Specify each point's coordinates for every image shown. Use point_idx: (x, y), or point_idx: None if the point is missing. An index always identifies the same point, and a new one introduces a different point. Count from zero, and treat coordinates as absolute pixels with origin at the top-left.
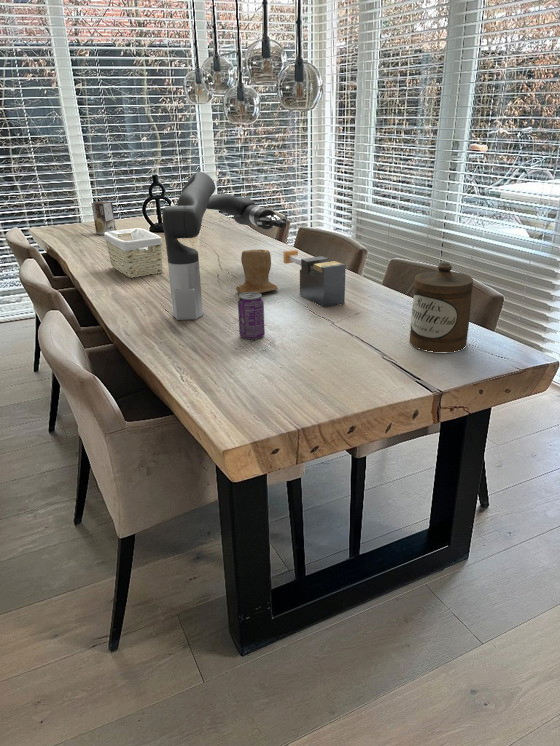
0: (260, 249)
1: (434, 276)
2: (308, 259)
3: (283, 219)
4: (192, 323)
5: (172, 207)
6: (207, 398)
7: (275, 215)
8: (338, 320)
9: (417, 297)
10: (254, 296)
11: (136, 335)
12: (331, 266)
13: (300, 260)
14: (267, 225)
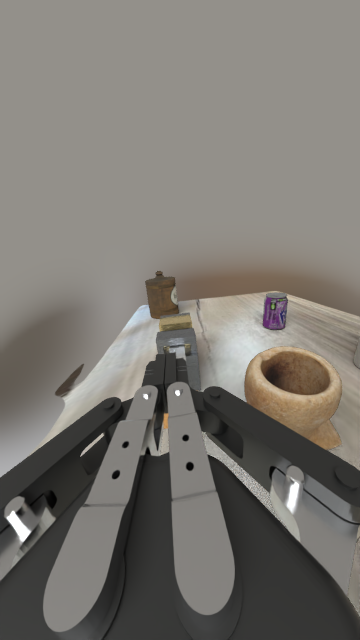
0: (277, 389)
1: (164, 277)
2: (186, 333)
3: (118, 400)
4: (354, 349)
5: None
6: (290, 299)
7: (91, 511)
8: (196, 334)
9: (175, 286)
10: (272, 295)
11: None
12: (179, 314)
13: (185, 360)
14: (239, 445)
